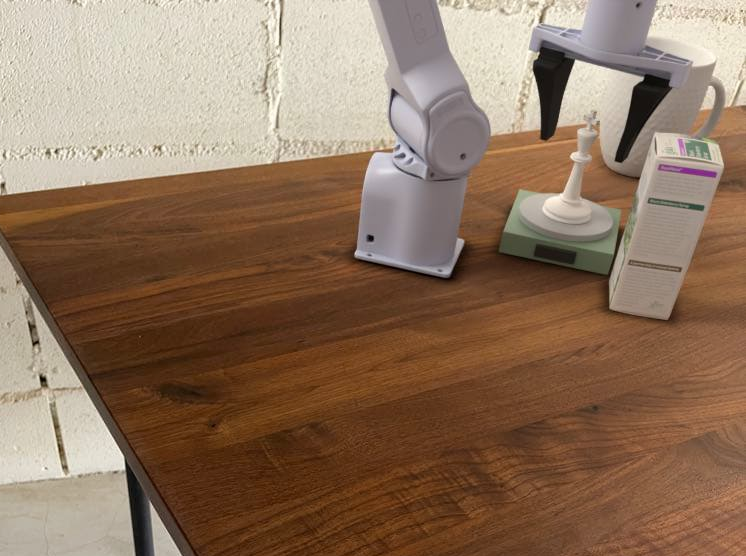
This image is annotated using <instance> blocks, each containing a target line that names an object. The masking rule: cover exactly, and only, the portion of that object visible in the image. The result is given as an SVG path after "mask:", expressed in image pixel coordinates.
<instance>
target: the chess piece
mask: <svg viewBox="0 0 746 556" xmlns="http://www.w3.org/2000/svg"><path fill="white" fill-rule="evenodd" d="M597 113H598V110H596V109H590V111H589V113H586V114H585V113H584V115H583V118H582V120H583V121H585V122H586V126H585V127H581V128H580V127H579V128H578V129H577V131H576V132H577V133H576V138H577V144H576V145H577V151H574V152H572V153H571V154H570V155H569V157H570V158H569V159H571V160H572V161H573V162H574V163H573V167H572V169H571V173H570V175H569V177H568V180H567V183H566V185H565V187H564V190H563V192H560V193H559V194H560V195H559V196H555V197H551V198H549V199H547V200H546V201H545V204H544V206H543V209H542V210H543V212H544V214H545V215H546V216H548V217H549V218H551V219H553V220H555V221H558V222H562V223H567V224H582V223H585V222H587V221H589V220H590V218H591V212H592V210H591V207H590V206H589V205H588V204H587V203H585V202H584V201H582V197H581V190H582V183H583V176H584V171H585V170H584V169H585V166H586V165H585V164H589V163H592V162H593V156H592V155H591V154H590V153H589V152H590V151H591V149H592V147H593V145H594V144H595V142H596V141H597V139H598V137H599V132H598V131H597V130H596V129H593V128H594V126H596V127H597V126H600V119H598V118H596V116H597Z"/></svg>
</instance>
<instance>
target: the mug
mask: <svg viewBox="0 0 746 556" xmlns="http://www.w3.org/2000/svg"><path fill="white" fill-rule="evenodd" d="M645 44H646V45H648V46H651V47H654V48H656V49H659V50H662V51H664V52H667V53H670V54H672V55H675V56H678V57H681V58H684V59H688V60H692V61H693V64H692V67H691V70H690V73H689V76H688V79H687V82H686V84H685V85H684V86H683V87H681V88H680V89H676V88H672V89H671V91H670V92H669V93H668V94H667V96H666V97H665V98H664V99H663V100H662V102H661V103H660V104H659V106H658V107H657V108H656V110H655V111H654V112H653V114H652V115H651V116H650V118H649V119H648V121H647V122H646V124H645V125H644V127H643V128H642V130H641V132H640V134H639V135H638V137H637V139H636V141H635V143H634V144H633V147H632V149H631V151H630V153H629V156H628V158H627V159H626V160H624V161H623V162H622V163H618V162H615V161H614V160H615V156H616V151H617V149H618V146H619V143H620V140H621V137H622V134H623V132H624V128H625V125H626V121H627V117H628V112H629V107H630V102H631V96H632V91H633V87H634V86H635V85H636V84H638V83H639V82H640V81H643V79H644V77H640V76H636V75H632V74H628V73H624V72H621V71H617V70H613V69H610V72H609V75H608V80H607V82H606V87H605V91H604V95H603V99H602V103H601V104H602V106H601V110H600V115H599V116H600V119H599V120H600V123H599V127H598V128H599V132H598V137H599V147H600V150H601V155H602V159H603V161H604V164H605V166H606V167H607V168H608V169H610V171H613V172H615V173H617V174H619V175H623V176H626V177H630V178H639V179H640V178H641V174H642V171H643V168H644V165H645V162H646V158H647V155H648V152H649V149H650V146H651V143H652V139H653V136H654V134H655V132H658V133H674V134H685V135H690V133H691V131H692V129H693V127H694V124H695V122H696V121H697V118H698V115H699V114H700V110H701V109H702V105H703V104H704V101H705V98H706V96H707V93H708V90H709V87H712V89H714V94H715V95H714V102H713V105H712V108H711V111H710V114H709V115H708V117H707V119H706V121H705V122H704V124H702V126H701V127H700V128H699V129H698V130H697V131H696V132H694V133H693V134H692V136H698V137H702V138H707V137H709V136H710V135H711V133H712V132H713V131H714V129H715V128H716V126H717V125H718V123H719V121H720V120H721V117H722V115H723V112H724V110H725V107H726V88H725V86H724V84H723V82H722V81H721V80H720V79H719V78H718V77H716V75H715V76H714V75H713V74H714V71H715V67H716V65H717V62H718V58H717V55H716V54H715V53H714V52H713V51H711V50H709V49H708V48H706V47H703V45H702V46H701V45H699V44H697V43H693V42H690V41H686V40H682V39H678V38H674V37H667V36H662V35H661V36H660V35H647V38H646V42H645Z"/></svg>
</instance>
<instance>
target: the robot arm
mask: <svg viewBox="0 0 746 556" xmlns="http://www.w3.org/2000/svg"><path fill="white" fill-rule="evenodd" d="M658 1H659V0H588V1H587V7H586V9H585V10H586V11H585V15H584V19H583V23H582V26H581V29H578V28H571V27H565V26H559V25H553V24H548V23H545V22H544V23H543V22H541V23H538V24H536V25H535V26H533V27H532V28H531V29H532V30H531V35H530V38H529V39H530V40H529V45H528V51H531V52H535V53H538V55H537V58H536V59H534V60H533V62H532V72H533V76H534V79H535V84H536V88H537V94H538V101H539V110H540V111H539V112H540V132H539V134H540V135H539V140H540V141H544V142H547V141H548V140H550V139H552V138H553V137H554V136H555V133H556V130H557V127H558V123H559V118H560V114H561V108H562V104H563V100H564V95H565V93H566V90H567V87H568V82H569V78H570V77H571V73H572V70H573V67H574V65H575V62H576V61H578V62H582V63H587V64H591V65H595V66H598V67H601V68H605V69H609V70H611V69H613V70H617V71H621V72H624V73H628V74H632V75H636V76H640V77H644V79H643V81H640V82H639V83H638V84H636V85H635V86H634V87H633V91H632V96H631V102H630V107H629V112H628V117H627V121H626V125H625V128H624V132H623V134H622V137H621V140H620V143H619V146H618V149H617V151H616V156H615V160H614V161H615V162H618V163H622V162H623V161H624V160H626V159H627V158H628V156H629V153H630V151H631V149H632V147H633V144H634V143H635V141H636V139H637V137H638V135H639V134H640V132H641V130H642V128H643V127H644V125H645V124H646V122H647V121H648V119H649V118H650V116H651V115H652V114H653V112H654V111H655V110H656V108H657V107H658V106H659V104H660V103H661V102H662V100H663V99H664V98H665V97H666V96H667V94H668V93H669V92H670V91H671V89H672V88H676V89H680V88H681V87H683V86H684V85H685V84H686V82H687V79H688V76H689V73H690V70H691V67H692V64H693V61H692V60H688V59H684V58H681V57H678V56H675V55H672V54H670V53H667V52H664V51H662V50H659V49H656V48H654V47H651V46H648V45H646V44H645V42H646V38H647V36H649V32H650V28H651V24H652V21H653V18H654V14H655V11H656V8H657V4H658ZM367 2H368V5H369V8H370V11H371V14H372V17H373V20H374V23H375V26H376V30H377V33H378V35H379V38H380V42H381V45H382V48H383V51H384V54H385V56H386V60H387V66H386V68H385V69H384V72H383V76H384V79H385V83H386V87H387V104H386V117H387V122H388V124H389V127H390V129H391V130H392V131H393V133H394V134H395V141H394V145H393V149H392V152H383V151H376V152H374V153H373V155H372V156H371V157H370V159H369V163H368V165H367V168H366V172H365V176H364V182H363V186H362V193H361V202H360V210H359V211H360V213H359V223H358V234H357V243H356V250H355V252H354V258H356V259H357V260H362V261H367V262H371V263H374V264H375V263H376V264H379V265H384V266H389V267H392V268H393V267H394V268H398V269H403V270H407V271H412V272H416V273H421V274H425V275H430V276H434V277H439V278H443V279H448V278H451V275H452V273H453V270H454V268H455V266H456V263H457V262H458V259H459V257H460V255H461V252H462V250H463V248H464V246H465V239H464V238H460V237H458V236H459V231H460V226H461V219H462V214H463V208H464V205H465V204H464V203H465V199H466V192H467V188H468V187H467V186H468V181H469V178H470V175H471V171H472V170H474V168H475V167H477V166H478V165H479V163H480V162H481V161H482V160H483V158H484V156H485V155H486V154H487V151H488V148H489V145H490V142H491V135H492V129H491V127H492V126H491V123H490V120H489V117H488V115H487V114H486V112H485V111H484V109H482V108H481V107H480V106H479V105H478V104H477V103H476V101H474V98H473V97H472V93H471V90H470V85H469V83H468V81H467V79H466V78H465V75H464V74H463V72H462V70H461V68H460V66H459V65H458V63H457V61H456V59H455V58H454V56H453V53H452V52H451V50H450V46H449V42H448V38H447V34H446V31H445V27H444V23H443V20H442V15H441V13H440V9H439V5H438V1H437V0H367Z"/></svg>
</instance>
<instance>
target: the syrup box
mask: <svg viewBox="0 0 746 556" xmlns="http://www.w3.org/2000/svg"><path fill="white" fill-rule="evenodd" d="M692 135H693V134H692ZM692 135H691V134H689V135H685V134H674V133H658V132H655V134H654V136H653V139H652V143H651V146H650V149H649V152H648V155H647V158H646V162H645V165H644V168H643V171H642V174H641V178H639V181H638V185H637V188H636V191H635V194H634V197H633V201H632V205H631V208H630V210H629V214H628V218H627V221H626V223H625V227H624V230H623V234H622V237H621V240H620V243H619V247H618V250H617V252H616V256H615V260H614V263H613V266H612V269H611V273H610V276H609V280H608V307H609V310H611V311H614V312H617V313H618V312H619V313H623V314H628V315H633V316H639V317H645V318H650V319H651V318H652V319H657V320H658V319H659V320H663V321H664V320H665V321H668V320H669V318H670V316H671V314H672V311H673V308H674V305H675V303H676V300H677V298H678V296H679V293H680V290H681V288H682V285H683V283H684V279H685V277H686V274H687V272H688V269H689V266H690V263H691V261H692V257H693V255H694V252H695V249H696V247H697V244H698V241H699V238H700V236H701V234H702V233H701V232H702V230H703V227H704V224H705V222H706V219H707V217H708V213H709V210H710V208H711V205H712V202H713V200H714V196H715V193H716V191H717V188H718V186H719V182H720V180H721V177H722V175H723V172H724V170H725V164H724V160H723V156H722V153H721V147H720V145H719V142H718V141H717V140H714V139H710V138H707V137H706V138H702V137H698V136H692Z"/></svg>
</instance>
